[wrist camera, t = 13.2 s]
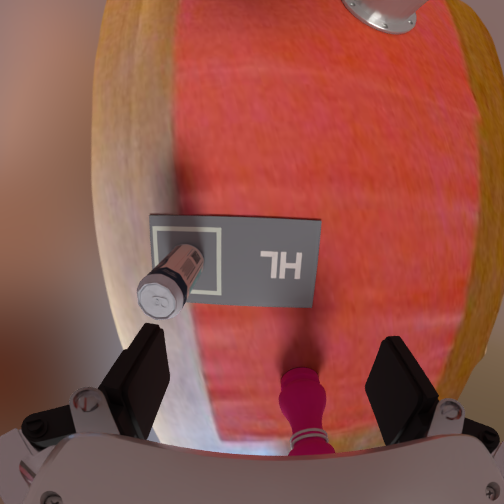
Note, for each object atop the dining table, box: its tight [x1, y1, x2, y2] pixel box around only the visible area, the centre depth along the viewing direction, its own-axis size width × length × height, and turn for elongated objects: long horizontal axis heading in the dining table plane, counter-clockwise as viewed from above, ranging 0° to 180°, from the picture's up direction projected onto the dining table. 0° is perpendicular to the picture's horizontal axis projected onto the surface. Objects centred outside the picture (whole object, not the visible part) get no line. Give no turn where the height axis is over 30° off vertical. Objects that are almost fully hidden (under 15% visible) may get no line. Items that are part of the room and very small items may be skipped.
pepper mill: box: [279, 367, 335, 456], centre depth 31 cm, size 7×7×20 cm
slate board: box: [149, 215, 321, 308], centre depth 35 cm, size 12×22×1 cm, turn 88°
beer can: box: [137, 244, 204, 320], centre depth 30 cm, size 5×5×12 cm
